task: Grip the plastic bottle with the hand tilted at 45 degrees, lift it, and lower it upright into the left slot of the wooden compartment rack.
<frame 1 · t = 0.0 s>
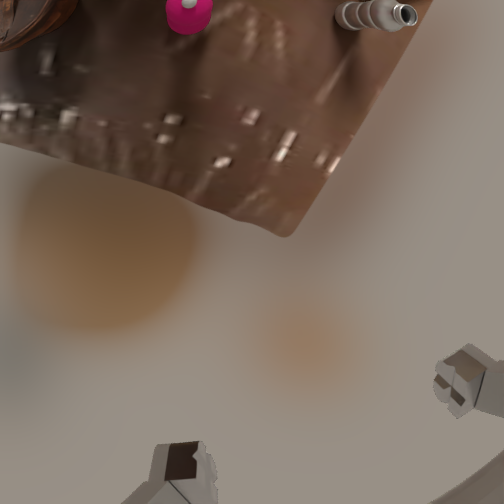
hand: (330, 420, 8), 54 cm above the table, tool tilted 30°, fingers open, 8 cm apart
bowling pin: (188, 18, 38), on the table
brown flower pot: (50, 3, 27), on the table
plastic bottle: (344, 16, 41), on the table
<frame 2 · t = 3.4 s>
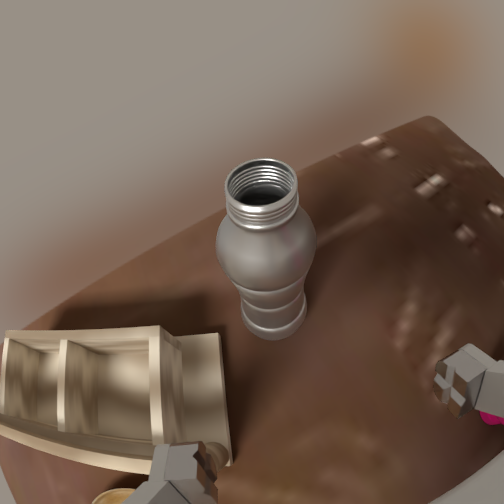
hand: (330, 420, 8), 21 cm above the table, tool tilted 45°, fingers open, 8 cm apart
bowling pin: (494, 400, 22), on the table
wooden compartment rack: (101, 395, 27), on the table
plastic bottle: (274, 317, 31), on the table
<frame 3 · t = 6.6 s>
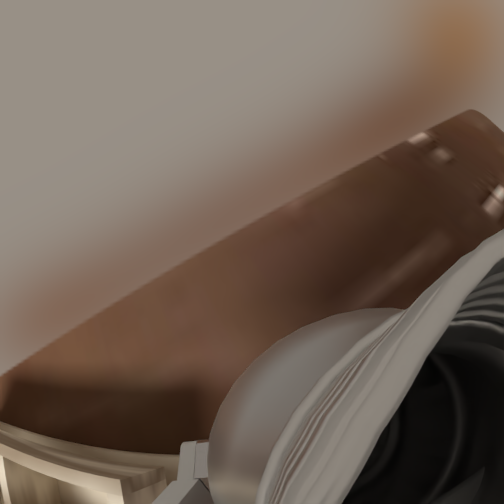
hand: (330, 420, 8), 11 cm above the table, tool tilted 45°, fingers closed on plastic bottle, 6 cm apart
wooden compartment rack: (68, 502, 13), on the table
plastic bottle: (308, 424, 17), on the table, touching gripper
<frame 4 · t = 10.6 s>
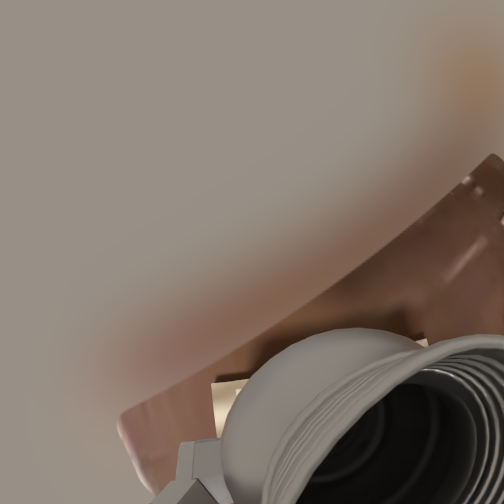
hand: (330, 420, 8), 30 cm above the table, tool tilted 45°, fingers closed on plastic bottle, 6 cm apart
wooden compartment rack: (333, 413, 32), on the table
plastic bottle: (306, 411, 19), point 17 cm above the table, touching gripper
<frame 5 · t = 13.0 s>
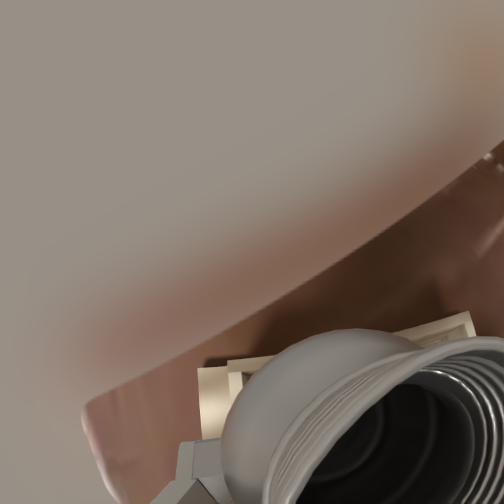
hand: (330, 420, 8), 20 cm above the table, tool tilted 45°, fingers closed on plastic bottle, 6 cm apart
wooden compartment rack: (356, 411, 24), on the table
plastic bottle: (305, 411, 19), point 7 cm above the table, touching gripper
when the fingers open (14 cm above the table, at t = 15.0 s): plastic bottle stays where it is, resting on wooden compartment rack.
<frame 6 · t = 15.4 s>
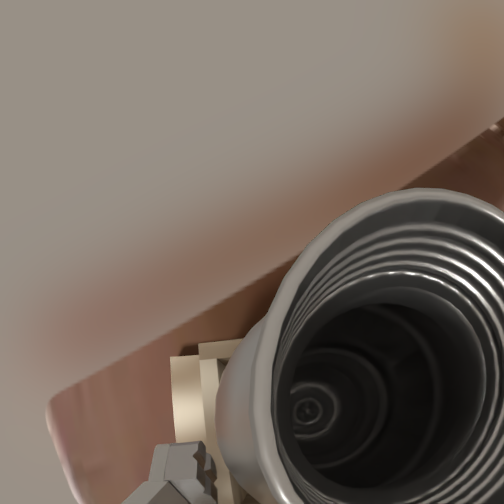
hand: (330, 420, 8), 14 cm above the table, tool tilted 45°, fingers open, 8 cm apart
wooden compartment rack: (369, 408, 19), on the table
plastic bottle: (306, 411, 19), point 1 cm above the table, touching wooden compartment rack
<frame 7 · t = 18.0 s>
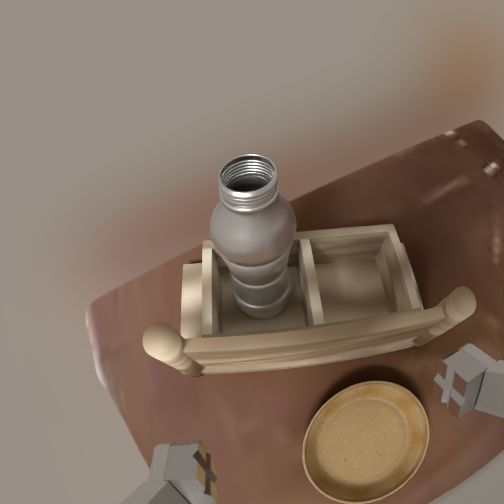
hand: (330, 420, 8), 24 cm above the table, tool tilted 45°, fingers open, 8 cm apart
plant saucer: (363, 442, 26), on the table
wooden compartment rack: (305, 305, 35), on the table
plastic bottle: (262, 298, 35), point 1 cm above the table, touching wooden compartment rack
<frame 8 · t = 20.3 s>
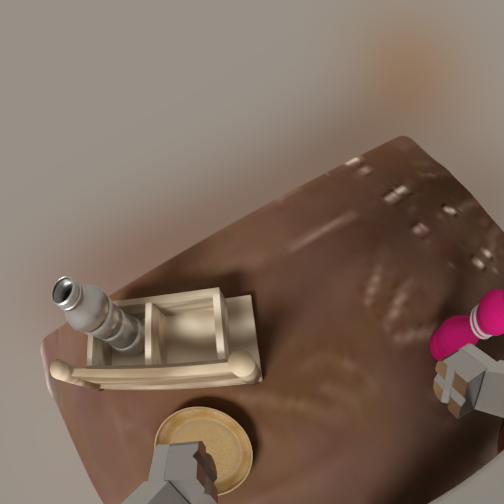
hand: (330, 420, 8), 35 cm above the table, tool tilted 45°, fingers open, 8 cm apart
bowling pin: (443, 345, 40), on the table
plant saucer: (206, 451, 36), on the table
wooden compartment rack: (166, 345, 45), on the table
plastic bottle: (136, 340, 45), point 1 cm above the table, touching wooden compartment rack
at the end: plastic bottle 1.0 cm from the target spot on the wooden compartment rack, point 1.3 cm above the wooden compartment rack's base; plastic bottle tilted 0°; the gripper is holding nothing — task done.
